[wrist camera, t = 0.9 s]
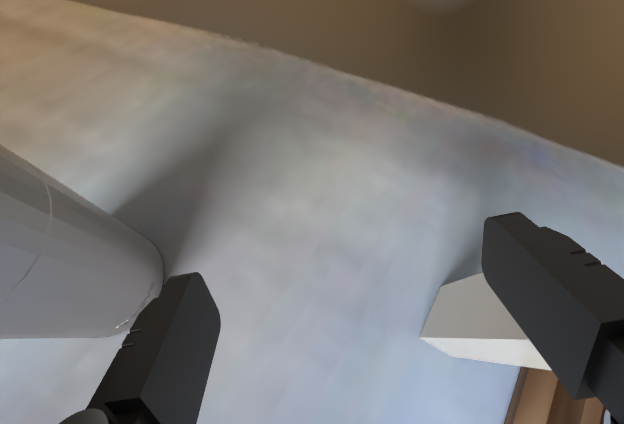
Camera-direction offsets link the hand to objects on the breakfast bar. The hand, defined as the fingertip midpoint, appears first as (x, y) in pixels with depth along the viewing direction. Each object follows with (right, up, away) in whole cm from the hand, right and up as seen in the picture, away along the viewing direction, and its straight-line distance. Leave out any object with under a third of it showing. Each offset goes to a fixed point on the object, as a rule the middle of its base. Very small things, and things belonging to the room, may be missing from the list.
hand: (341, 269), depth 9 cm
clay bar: (+11, -8, +19) cm, 23 cm away
